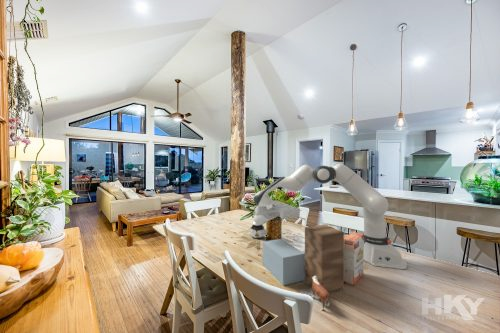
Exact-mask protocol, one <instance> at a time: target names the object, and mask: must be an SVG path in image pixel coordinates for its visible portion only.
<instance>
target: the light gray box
mask: <svg viewBox="0 0 500 333" xmlns="http://www.w3.org/2000/svg"><path fill="white" fill-rule="evenodd" d="M271 204H274V207H273V208H271V209H274V210H276V211H278V212H280V217H279V218H281V219H283V220H284V219H285V220H286V219H292V218H293V219H294V218H300V215H301V214H300V213H301V212H300V211H301V210H300V209H301V208H300V207H299V208H298V207H297V206H293V205H291V204H288V203H285V202H283V201H280V200H273V201H271Z"/></svg>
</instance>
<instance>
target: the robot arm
mask: <svg viewBox="0 0 500 333" xmlns="http://www.w3.org/2000/svg"><path fill="white" fill-rule="evenodd" d="M312 181H314V182H317V183H318V184H321V185H324V184H325V185H326V184H328V183H330V182H331V181H335V182H336V183H338V184H339V185H340V186H342V188H343V189H345V191H347V192H348V193H349V194H350V195H352V196H353V198H355V200H357V201H358V202H359V203H360V204H361V205H362V210H363V211H362V212H363V233H362V234H364V261H365V262H367V263H369V264H371V265H372V266H375V267H382V268H389V269H398V270H400V269H401V270H406V269H407V268H408V263H407V261H406V260H405V259H403V256H402V254H401V252H400V250H399V249H398V248H396V247H395V246H394V245H392V240H391V239H390V237H389V236H387V235H386V234H387V228H386V226H387V220H386V214H385V213H386V212H387V211H388V210H389V201H388V200H387V198H386V197H385V196H384V195H382V194H381V193H380V192H379V191H378V190H376V189H375V188H374V187H373V186H372V185H370V184H369V183H368V182H367V181H366V180H365V179H364V178H362V177H361V176H360V175H359V174H357V173H356V172H355V170H352V169H351V168H350V167H348V166H347V165H345V164H343V163H337V164H335V165H334V166H327V165H318V166H317V167H315V168H314V167H312V166H310V165H308V164H302V166H300V167H298V168H297V169H296V170H295V171H293V172H292V174H290V175H288V176H281V177H280V178H278V179H277V180H275V181H273V182H272V183H271V184H269V185H268V186H266V187H265V188H264V189H262V190H260V191H258V192H256V194H254V196H253V204H255V206H256V207H255V208H254V211H253V212H252V215H253V222H255V223H256V224H258V225H263V226H264V224H267V223H268V222H269V221H271V220H273V219H276V218H280V212H278V211H276V210H274V209H271V208H273V207H274V204H271V201H274V199H272V198H271V197H270V196H269V194H270V193H271V192H272V191H274V190H275V189H277V188H283V189H286V190H288V191H290V192H294V193H295V192H299V191H301V190H302V189H304V187H306V186H307V185H308V184H309V183H310V182H312Z"/></svg>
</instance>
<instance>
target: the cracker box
mask: <svg viewBox="0 0 500 333" xmlns="http://www.w3.org/2000/svg"><path fill="white" fill-rule="evenodd" d="M364 261H365V260H364V234H363V233H360V232H355V231H353V232H351V233H349V234H348V235H347V236H345V237H344V276H343V283H346V284H349V285H352V286H355V285H356V284H357V282H359V280H360V279H361V278H362V277H363V275H364V265H365V264H364Z"/></svg>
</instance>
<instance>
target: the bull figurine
mask: <svg viewBox="0 0 500 333" xmlns="http://www.w3.org/2000/svg"><path fill="white" fill-rule="evenodd" d="M310 279H313V281H312V287H311V289H312V296H311V298H312V299H315V296H316V297H318V299H319V300H321V303H322V307H321V309H320V310H321V311H325V307H329V306H330V303H331V302H330V298H331V293H328V292H327V290H326V289H325V288H324V287H323V286H322V285H321V284H320V283H319V282H318V280H319V281H320V280H321V279H318V278H317V276H313V277H310Z"/></svg>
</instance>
